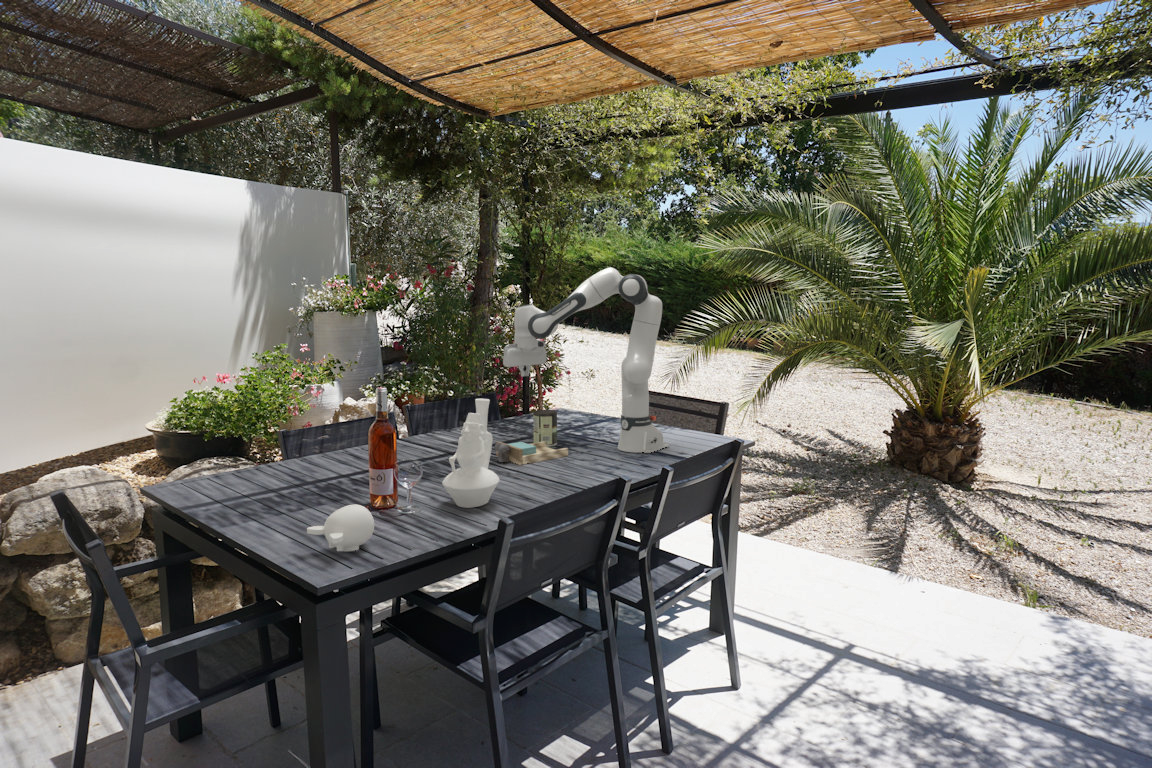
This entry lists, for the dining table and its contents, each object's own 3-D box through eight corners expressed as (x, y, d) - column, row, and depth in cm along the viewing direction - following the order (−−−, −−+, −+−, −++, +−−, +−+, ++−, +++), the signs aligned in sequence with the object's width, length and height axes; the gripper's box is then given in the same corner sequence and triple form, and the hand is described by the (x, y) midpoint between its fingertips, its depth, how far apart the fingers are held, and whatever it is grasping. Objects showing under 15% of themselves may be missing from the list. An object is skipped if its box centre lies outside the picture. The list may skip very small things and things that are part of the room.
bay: (544, 448, 298) (544, 431, 297) (568, 455, 286) (568, 438, 285) (484, 459, 280) (484, 441, 279) (507, 467, 268) (507, 448, 267)
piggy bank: (363, 542, 196) (314, 563, 184) (351, 501, 196) (301, 519, 184) (389, 540, 188) (340, 561, 176) (377, 497, 188) (327, 515, 176)
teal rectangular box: (521, 451, 287) (521, 441, 287) (536, 456, 279) (536, 446, 279) (504, 454, 282) (504, 444, 281) (519, 459, 274) (519, 449, 274)
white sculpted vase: (430, 506, 222) (428, 404, 217) (473, 489, 240) (472, 394, 236) (476, 516, 213) (475, 410, 208) (517, 497, 232) (517, 399, 227)
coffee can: (548, 440, 313) (548, 408, 311) (561, 444, 304) (561, 412, 302) (528, 443, 307) (528, 410, 305) (541, 448, 299) (541, 414, 297)
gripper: (508, 345, 291) (508, 378, 293) (548, 342, 304) (548, 374, 306) (499, 344, 296) (500, 377, 298) (539, 341, 309) (539, 373, 311)
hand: (525, 376), depth 302 cm, fingers closed
